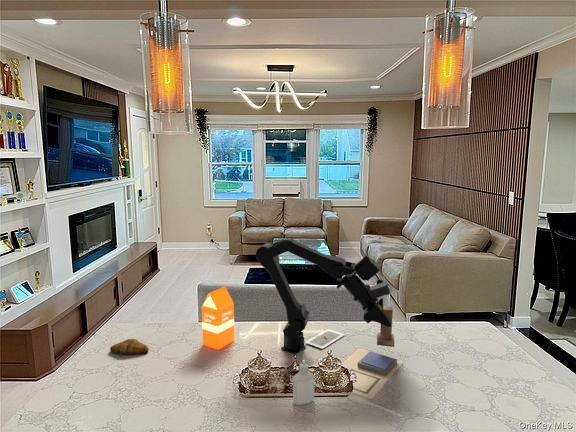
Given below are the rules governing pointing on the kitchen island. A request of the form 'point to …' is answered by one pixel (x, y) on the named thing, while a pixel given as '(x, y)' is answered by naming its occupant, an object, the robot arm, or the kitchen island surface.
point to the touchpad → (324, 338)
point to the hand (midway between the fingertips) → (390, 323)
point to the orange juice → (218, 319)
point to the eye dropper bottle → (303, 385)
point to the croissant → (129, 347)
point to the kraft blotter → (366, 375)
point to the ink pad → (377, 363)
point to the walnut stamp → (386, 329)
